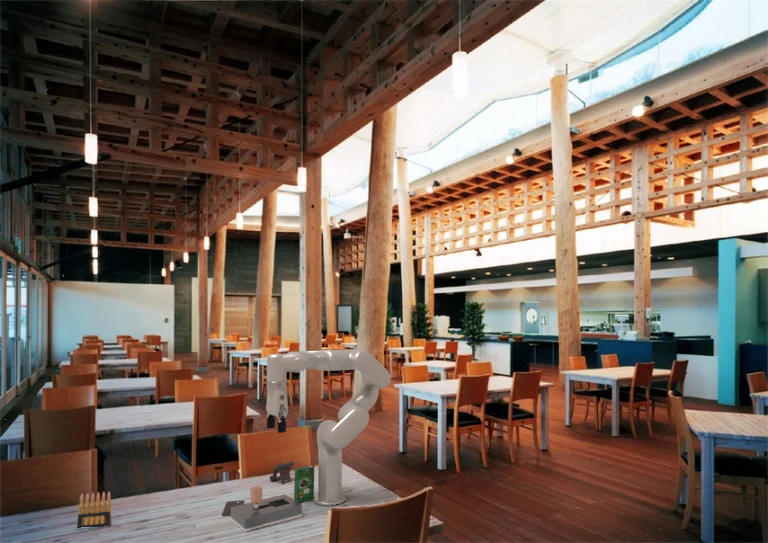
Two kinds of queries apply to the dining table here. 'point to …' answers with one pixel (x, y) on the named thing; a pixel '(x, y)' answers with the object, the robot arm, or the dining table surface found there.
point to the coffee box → (304, 483)
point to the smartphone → (228, 507)
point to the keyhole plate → (266, 512)
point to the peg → (256, 496)
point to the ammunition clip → (94, 511)
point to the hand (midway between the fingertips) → (276, 430)
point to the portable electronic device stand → (282, 472)
